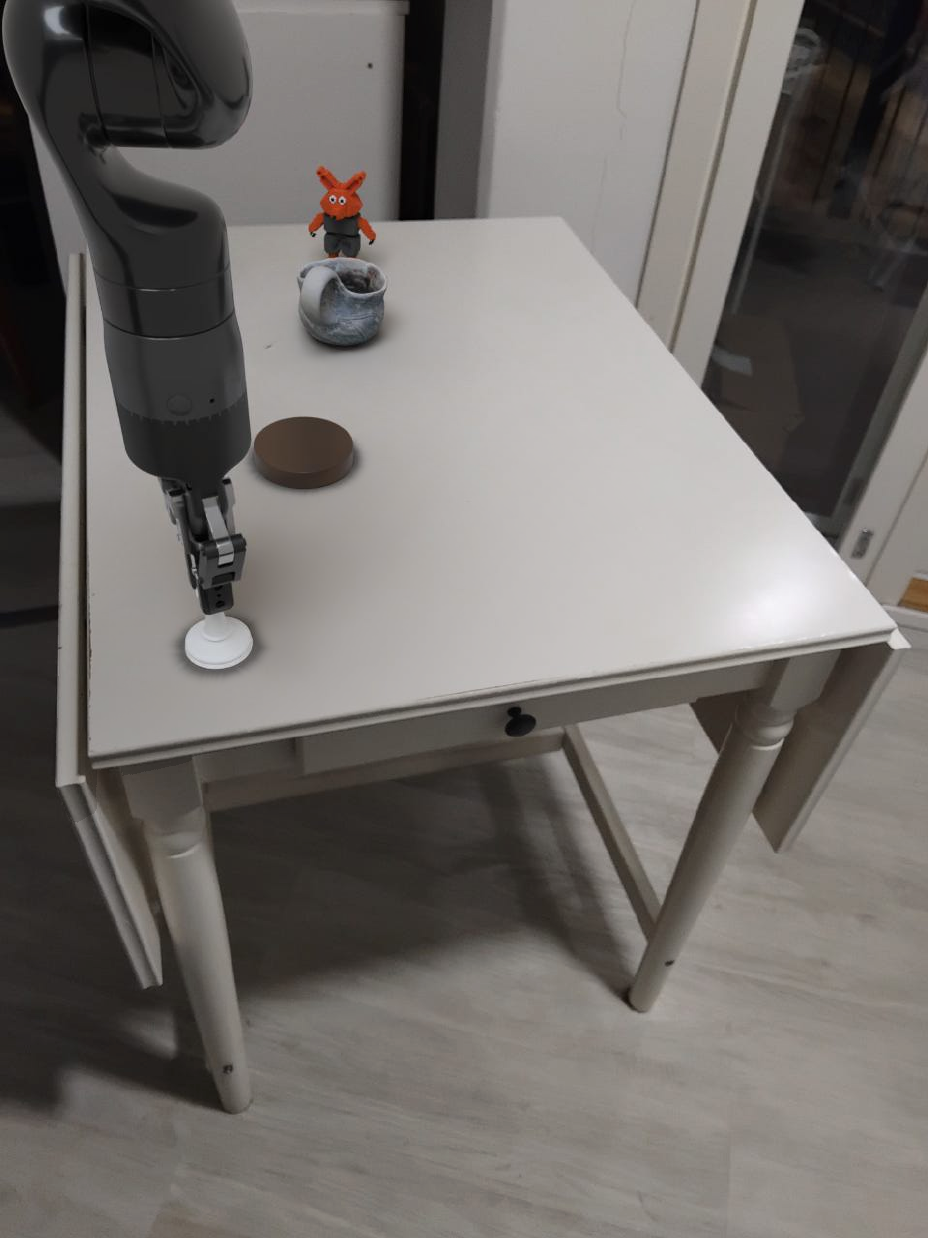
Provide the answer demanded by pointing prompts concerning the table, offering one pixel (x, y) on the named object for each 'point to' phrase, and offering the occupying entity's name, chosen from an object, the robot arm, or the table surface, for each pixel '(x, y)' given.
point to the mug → (341, 300)
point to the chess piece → (218, 641)
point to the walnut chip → (303, 452)
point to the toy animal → (341, 215)
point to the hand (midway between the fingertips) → (211, 595)
